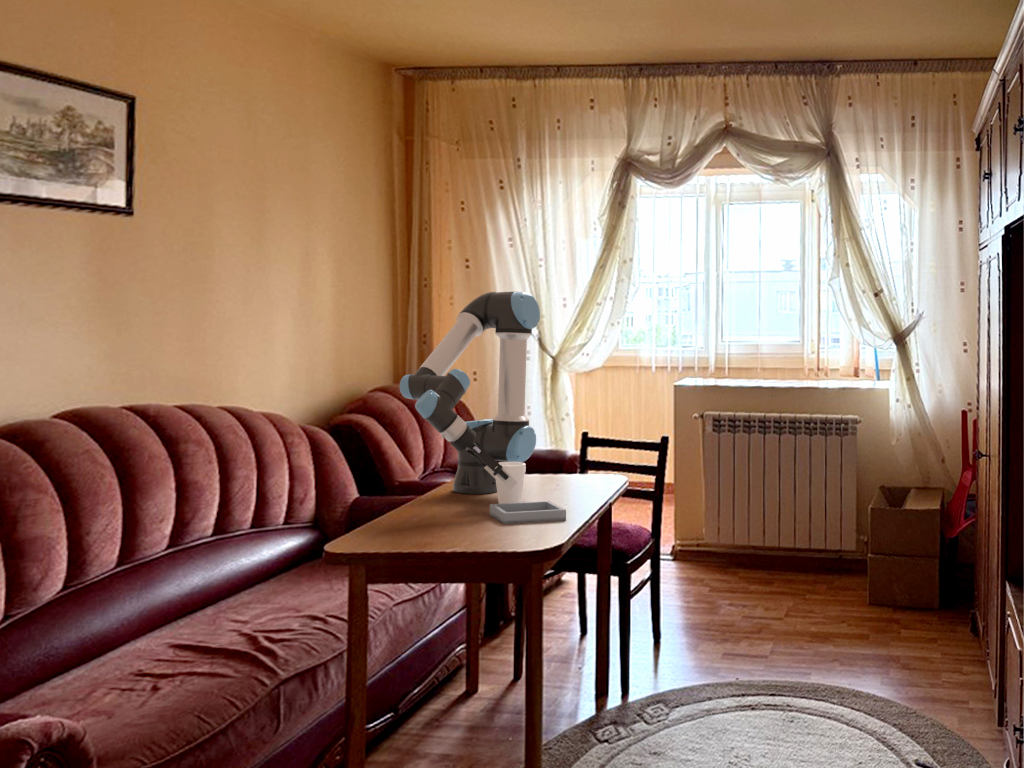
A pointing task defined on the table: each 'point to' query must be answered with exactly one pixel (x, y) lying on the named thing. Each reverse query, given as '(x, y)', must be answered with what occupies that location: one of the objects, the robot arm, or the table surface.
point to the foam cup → (517, 474)
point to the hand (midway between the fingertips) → (507, 482)
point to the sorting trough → (527, 512)
